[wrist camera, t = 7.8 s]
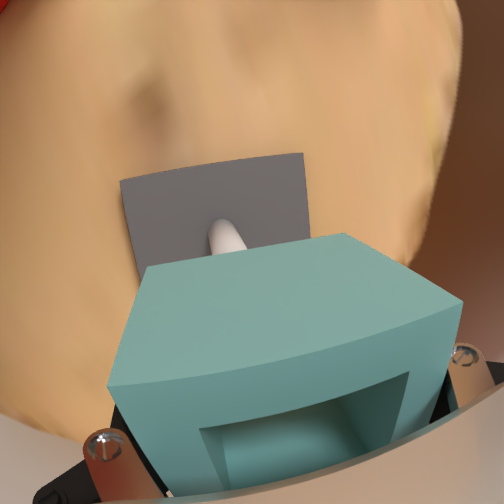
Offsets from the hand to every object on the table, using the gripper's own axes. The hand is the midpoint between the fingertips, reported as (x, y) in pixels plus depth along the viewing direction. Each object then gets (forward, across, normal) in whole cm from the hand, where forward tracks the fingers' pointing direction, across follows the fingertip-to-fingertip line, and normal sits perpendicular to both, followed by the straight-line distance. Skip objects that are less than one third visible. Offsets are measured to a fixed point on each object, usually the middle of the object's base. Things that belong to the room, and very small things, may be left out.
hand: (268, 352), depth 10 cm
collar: (+1, 0, 0) cm, 1 cm away
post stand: (+19, 0, 0) cm, 19 cm away
